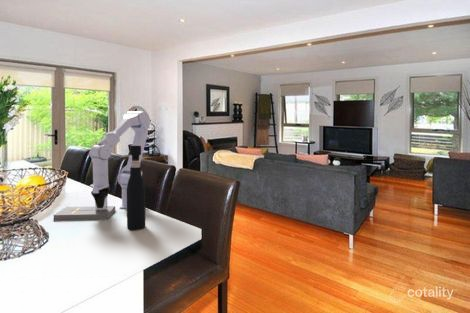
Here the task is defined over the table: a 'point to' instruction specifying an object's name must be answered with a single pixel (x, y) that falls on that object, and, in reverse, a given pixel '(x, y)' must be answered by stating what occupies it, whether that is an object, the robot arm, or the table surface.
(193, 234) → the table surface
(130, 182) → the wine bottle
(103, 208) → the fader knob
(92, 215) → the fader console
